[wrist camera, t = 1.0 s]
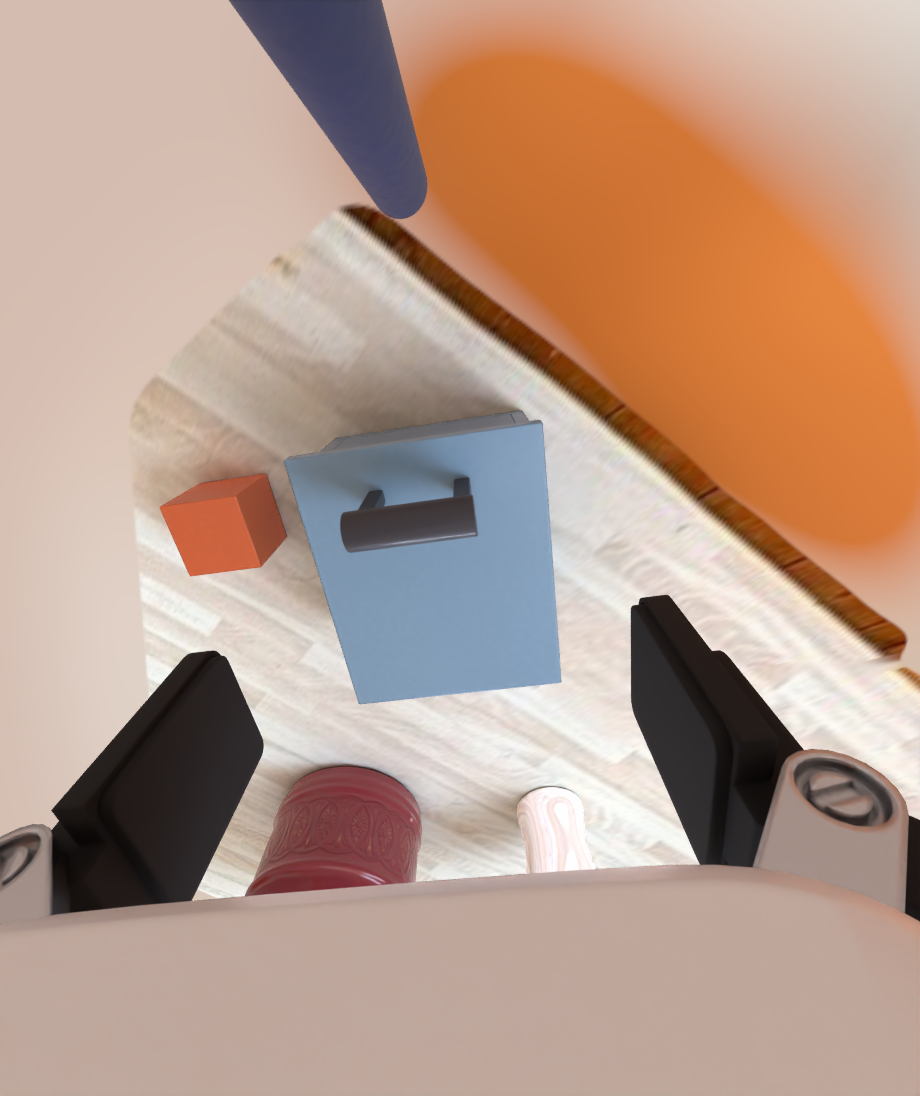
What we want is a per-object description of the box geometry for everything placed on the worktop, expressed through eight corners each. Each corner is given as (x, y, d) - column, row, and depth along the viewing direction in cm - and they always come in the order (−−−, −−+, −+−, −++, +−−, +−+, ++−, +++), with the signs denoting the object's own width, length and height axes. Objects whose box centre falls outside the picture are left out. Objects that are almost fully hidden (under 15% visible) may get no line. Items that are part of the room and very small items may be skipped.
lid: (288, 456, 22) (234, 494, 17) (540, 419, 21) (564, 447, 16) (361, 696, 28) (338, 777, 23) (559, 674, 27) (580, 753, 22)
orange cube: (199, 483, 30) (158, 506, 26) (266, 473, 30) (235, 495, 26) (224, 545, 32) (189, 577, 28) (287, 537, 32) (261, 567, 28)
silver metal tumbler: (538, 772, 41) (574, 990, 28) (603, 799, 43) (667, 1019, 29) (497, 818, 44) (512, 1038, 30) (559, 842, 45) (600, 1063, 32)
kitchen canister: (403, 752, 40) (362, 1029, 24) (437, 847, 46) (422, 1126, 30) (260, 773, 42) (133, 1050, 26) (310, 863, 47) (230, 1139, 31)
